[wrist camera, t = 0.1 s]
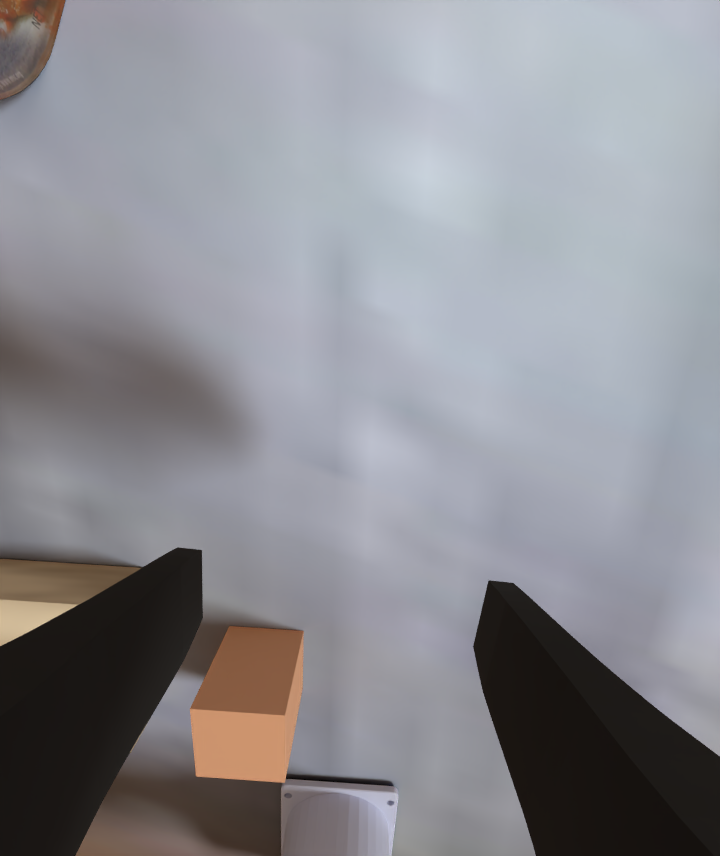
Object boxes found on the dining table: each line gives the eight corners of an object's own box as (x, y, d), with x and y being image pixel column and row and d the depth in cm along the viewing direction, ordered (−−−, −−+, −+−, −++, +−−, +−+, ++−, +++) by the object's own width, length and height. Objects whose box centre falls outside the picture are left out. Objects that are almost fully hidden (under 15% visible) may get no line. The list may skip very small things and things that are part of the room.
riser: (160, 700, 23) (130, 752, 21) (8, 689, 24) (-43, 740, 21) (144, 568, 21) (108, 606, 18) (-28, 557, 21) (-91, 593, 18)
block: (302, 687, 23) (284, 782, 18) (232, 682, 23) (196, 776, 18) (303, 630, 22) (285, 715, 17) (229, 625, 22) (190, 708, 17)
